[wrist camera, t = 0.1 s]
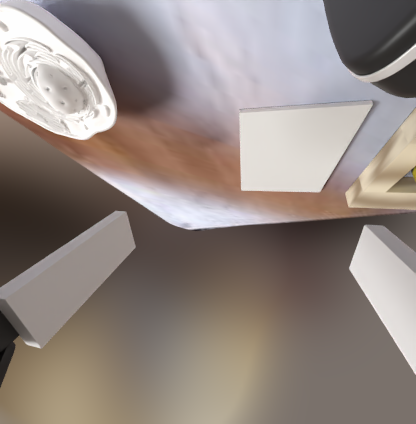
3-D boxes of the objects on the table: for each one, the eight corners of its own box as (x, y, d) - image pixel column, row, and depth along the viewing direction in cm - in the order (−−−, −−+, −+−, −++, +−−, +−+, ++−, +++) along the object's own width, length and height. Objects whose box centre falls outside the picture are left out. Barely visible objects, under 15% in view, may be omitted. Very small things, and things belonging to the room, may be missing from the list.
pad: (239, 109, 20) (239, 113, 20) (371, 100, 17) (373, 104, 17) (241, 187, 32) (241, 190, 32) (319, 188, 29) (319, 192, 29)
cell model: (-44, -12, 15) (-128, 25, 12) (93, -30, 13) (37, 8, 10) (59, 111, 24) (27, 150, 20) (148, 111, 22) (129, 154, 19)
